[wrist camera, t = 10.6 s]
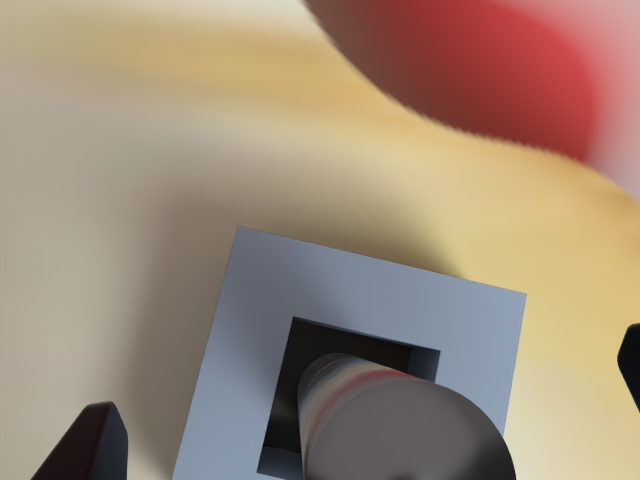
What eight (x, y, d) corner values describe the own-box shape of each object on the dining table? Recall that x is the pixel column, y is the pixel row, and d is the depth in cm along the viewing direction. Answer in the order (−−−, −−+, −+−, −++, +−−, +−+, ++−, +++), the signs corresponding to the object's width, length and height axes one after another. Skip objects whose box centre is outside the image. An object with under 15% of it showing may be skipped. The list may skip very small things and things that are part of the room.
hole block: (436, 555, 19) (474, 611, 16) (183, 497, 19) (155, 539, 15) (482, 301, 21) (526, 294, 17) (247, 245, 21) (237, 225, 17)
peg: (332, 457, 20) (399, 658, 8) (280, 388, 20) (261, 473, 8) (397, 401, 20) (560, 505, 8) (344, 335, 21) (424, 337, 8)
